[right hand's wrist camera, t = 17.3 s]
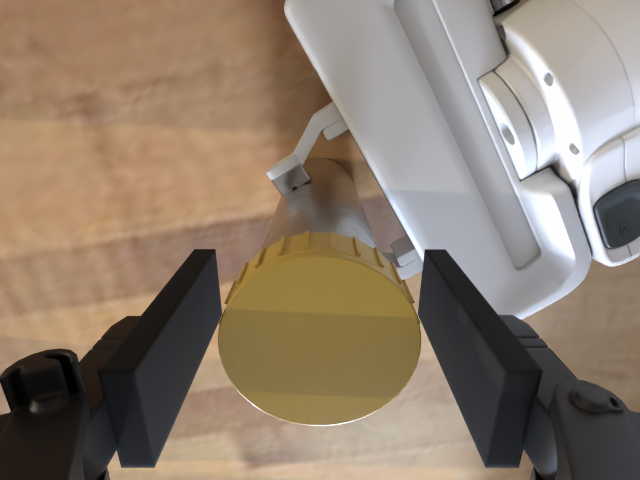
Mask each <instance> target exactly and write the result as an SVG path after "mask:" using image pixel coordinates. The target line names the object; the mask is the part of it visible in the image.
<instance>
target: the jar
mask: <svg viewBox="0 0 640 480" xmlns="http://www.w3.org/2000/svg"><path fill="white" fill-rule="evenodd" d="M305 164H306V166H307V168H308V169H309V171H310V173H311V176H310V180H309V181H307V182H306V183H304V184H302V185H300V186H293V189H292V191H290V192H289V193H287V194H285V195H283V196H281V198H280V201H279V204H278V206H277V209H276V212H275V214H274V217H273V220H272V222H271V225H270V228H269V230H268V233H267V236H266V238H265V241H264V244H263V246H262V248H263V247H264V248H265V249H266V248H267V247H269V246H270V245H272V244H274V243H276V242H278V241H280V240H281V238H282V237H284V236H285V238H288V237H291V236H295V235H300V234H305V231H309V233H315V232H316V233H330V231H333V232H334V234H340V235H344V236H348V237H351V238H353V237H354V236H355V237H357V239H358V240H359V241H361V242H364V243H365V244H367V245H369V246H371V247H372V248H375V247H377V245H376V242H375V239H374V237H373V234H372V231H371V229H370V226H369V223H368V221H367V218H366V215H365V212H364V210H363V207H362V204H361V202H360V199H359V196H358V194H357V191H356V188H355V186H354V183H353V180H352V178H351V176H350V174H349V173H348V172H347V170H346V169H345V168H344V167H342V166H341V165H340V164H338V163H336V162H334V161H332V160H329V159H322V158H318V159H311V160H308V161H305ZM377 248H378V247H377Z"/></svg>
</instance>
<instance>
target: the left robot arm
mask: <svg viewBox="0 0 640 480" xmlns="http://www.w3.org/2000/svg"><path fill="white" fill-rule="evenodd" d="M284 12H285V15H286V18H287V20H288V22H289V24H290V25H291V27H292V29H293V31H294V33H295V34H296V36H297V38H298V40H299V42H300V43H301V45H302V47H303V49H304V51H305V52H306V54H307V56H308V58H309V60H310V61H311V63H312V65H313V67H314V69H315V70H316V72H317V74H318V76H319V78H320V79H321V81H322V83H323V85H324V87H325V88H326V90H327V92H328V94H329V96H330V97H331V99H332V101H333V102H332V103H330V104H329V105H327V106H325V107H324V108H322V109H321V110H319V111H318V112H316V113H315V114H313V116H312V118H311V120H310V122H309V124H308V126H307V127H306V129H305V131H304V133H303V135H302V137H301V139H300V141H299V143H298V145H297V146H296V149H295V151H294V152H293V153H291V154H289V155H288V156H286V157H285V158H283V159H281V160H280V161H278V162H277V163H275V164H274V165H272V166H271V167H270V168H268V170H267V171H266V173H267V175H268V176H269V178H270V180H271V181H272V182H273V184H274V185H275V187H276V188H277V190H278V191H279V193H280V194H281V196H283V195H285V194H287V193H289V192H290V191H292V189H293V186H300V185H302V184H304V183H306V182H307V181H309V180H310V176H311V173H310V171H309V169H308V168H307V166H306V164H305V160H306V158H307V157H308V155H309V153H310V151H311V149H312V147H313V146H314V144H315V142H316V140H317V138H318V136H319V134H320V133H321V131H323V134H324V135H325V137H326V139H327V140H332V139H333V138H335V137H337V136H338V135H340V134H342V133H343V132H345V131H347V130H349V131H350V133H351V135H352V137H353V139H354V140H355V142H356V144H357V146H358V148H359V149H360V151H361V153H362V155H363V157H364V158H365V160H366V162H367V164H368V166H369V167H370V169H371V171H372V173H373V175H374V176H375V178H376V180H377V182H378V184H379V185H380V187H381V189H382V191H383V193H384V194H385V196H386V198H387V200H388V202H389V203H390V205H391V207H392V209H393V211H394V212H395V214H396V216H397V218H398V220H399V221H400V223H401V225H402V227H403V229H404V230H405V232H406V234H407V235H406V236H404V237H402V238H401V239H399V240H397V241H395V242H393V243H392V244H391V248H392V250H393V252H394V253H380V254H382V255H383V256H384V257H385V258H386V259H387V260H388V261H389V262H390V263H391V262H393V263H394V264H395V267H396V269H397V271H398V273H399V276H400V278H401V279H407V278H409V277H411V276H413V275H415V274H417V273H419V272H421V271H422V270H423V261H424V251H425V249H446V251H447V252H448V253H449V254H450V256H451V257H452V258H453V259H454V260H455V262H456V263H457V264H458V265H459V267H460V268H461V269H462V270H463V272H464V273H465V274H466V275H467V277H468V278H469V279H470V280H471V282H472V283H473V284H474V285H475V287H476V288H477V289H478V290H479V292H480V293H481V294H482V295H483V297H484V298H485V299H486V300H487V302H488V303H489V304H490V305H491V307H492V308H493V309H494V310H495V312H496V313H497V314H498V315H514V316H515V317H517V318H519V319H520V320H521V319H523V318H525V317H527V316H529V315H531V314H533V313H535V312H537V311H539V310H541V309H543V308H545V307H546V306H548V305H550V304H552V303H554V302H555V301H557V300H559V299H561V298H562V297H564V296H565V295H567V294H568V293H570V292H571V291H572V290H574V289H575V288H576V287H577V286H578V285H579V284H580V283H581V282H582V281H583V280H584V278H585V277H586V275H587V273H588V272H589V269H590V266H591V258H592V259H594V260H596V261H598V262H600V263H603V264H605V265H607V266H618V265H621V264H624V263H627V262H629V261H631V260H633V259H635V258H636V257H638V256H639V255H640V0H286V1H285V5H284ZM493 14H494V15H493ZM492 15H493V18H492V17H491V16H492Z"/></svg>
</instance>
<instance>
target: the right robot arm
mask: <svg viewBox="0 0 640 480" xmlns="http://www.w3.org/2000/svg"><path fill="white" fill-rule="evenodd" d="M221 316H222V309H221V299H220V290H219V280H218V270H217V261H216V251H215V249H194V251H193V252H192V253H191V254H190V256H189V257H188V258H187V259H186V260H185V262H184V263H183V264H182V265H181V267H180V268H179V269H178V270H177V272H176V273H175V274H174V275H173V277H172V278H171V279H170V280H169V282H168V283H167V284H166V285H165V287H164V288H163V289H162V290H161V292H160V293H159V294H158V295H157V297H156V298H155V299H154V300H153V302H152V303H151V304H150V305H149V307H148V308H147V309H146V310H145V312H144V313H143V314H142V315H141V316H127V317H125V318H124V319H122V320H120V321H119V322H117V323H116V324H114V325H112V326H111V327H110V328H109V329H108V331H107V332H106V333H105V334H104V335H103V336H102V337H101V340H99V341H98V342H97V343H96V344H95V345H94V346H93V349H92V350H90V351H89V352H88V353H87V354H86V355H85V356H84V357H83V359H82V360H81V361H80V362H79V361H78V358H77V354H75V353H74V352H73V351H71V350H66V349H52V350H45V351H42V352H38V353H35V354H32V355H30V356H27V357H25V358H23V359H21V360H19V361H17V362H16V363H14V364H13V365H11V366H10V367H8V368H7V369H6V370H5V371H4V372H3V373H2V375H1V376H0V383H1V386H2V388H3V391H4V394H5V396H6V399H7V402H8V405H9V407H10V410H11V412H10V413H7V414H3V415H0V480H110V478H109V472H108V469H107V466H108V464H109V462H110V460H111V459H112V457H113V455H114V453H115V452H116V450H117V452H118V456H119V460H120V464H121V468H154V467H155V465H156V463H157V460H158V458H159V456H160V454H161V451H162V449H163V447H164V445H165V442H166V440H167V438H168V436H169V433H170V431H171V429H172V427H173V424H174V422H175V420H176V417H177V415H178V413H179V411H180V408H181V406H182V404H183V402H184V399H185V397H186V395H187V393H188V390H189V388H190V386H191V384H192V381H193V379H194V377H195V374H196V372H197V370H198V368H199V365H200V363H201V361H202V359H203V356H204V354H205V352H206V350H207V347H208V345H209V343H210V341H211V338H212V336H213V334H214V331H215V329H216V327H217V325H218V322H219V320H220V318H221ZM418 316H419V318H420V320H421V322H422V325H423V327H424V329H425V331H426V334H427V336H428V338H429V341H430V343H431V345H432V347H433V350H434V352H435V354H436V356H437V359H438V361H439V363H440V365H441V368H442V370H443V372H444V374H445V377H446V379H447V381H448V384H449V386H450V388H451V390H452V393H453V395H454V397H455V399H456V402H457V404H458V406H459V408H460V411H461V413H462V415H463V417H464V420H465V422H466V424H467V427H468V429H469V431H470V433H471V436H472V438H473V440H474V442H475V445H476V447H477V449H478V451H479V454H480V456H481V458H482V460H483V463H484V465H485V467H486V468H519V464H520V460H521V456H522V452H523V448H524V450H525V451H526V453H527V455H528V457H529V458H530V460H531V462H532V464H533V469H532V472H531V476H530V480H640V413H636V412H632V411H629V410H628V408H627V407H626V405H625V404H624V403H623V401H622V400H620V399H619V398H618V397H617V396H615V395H614V394H613V393H612V392H610V391H608V390H606V389H604V388H602V387H600V386H598V385H595V384H592V383H589V382H586V381H582V380H578V379H577V378H576V377H575V376H574V375H573V373H572V372H571V371H570V370H569V369H568V368H567V367H566V366H565V365H564V363H563V362H562V361H561V360H560V359H559V358H558V357H557V356H556V355H555V353H554V352H553V351H552V350H551V349H550V348H548V346H547V345H546V343H545V342H544V341H543V340H542V339H539V336H538V335H537V333H536V332H535V331H534V330H533V329H532V328H531V327H530V326H529V325H528V324H527V323H525V322H523V321H522V320H520V319H519V318H517V317H515V316H514V315H498V314H497V313H496V312H495V310H494V309H493V308H492V307H491V305H490V304H489V303H488V302H487V300H486V299H485V298H484V297H483V295H482V294H481V293H480V292H479V290H478V289H477V288H476V287H475V285H474V284H473V283H472V282H471V280H470V279H469V278H468V277H467V275H466V274H465V273H464V272H463V270H462V269H461V268H460V267H459V265H458V264H457V263H456V262H455V260H454V259H453V258H452V257H451V256H450V254H449V253H448V252H447V251H446V249H425V251H424V261H423V270H422V280H421V290H420V299H419V309H418Z"/></svg>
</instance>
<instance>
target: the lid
mask: <svg viewBox="0 0 640 480" xmlns="http://www.w3.org/2000/svg"><path fill="white" fill-rule="evenodd" d="M413 303H414V300H413V298H412V296H411V293H410V291H409V289H408V287H407V285H406V282H405V280H401V278H400V276H399V273H398V271H397V269H396V267H395V264H394V263H393V262H391V263H390V262H389V261H388V260H387V259H386V258H385V257H384V256H383V255H382V254H380V253H379V250H378V248H377V247H375V248H372V247H371V246H369V245H367V244H365V243H364V242H361V241H359V240H358V239H357V237H355V236H354V237H353V238H351V237H348V236H344V235H340V234H334V232H333V231H330V233H316V232H315V233H309V231H305V234H300V235H295V236H291V237H288V238H285V236H284V237H282V238H281V240H280V241H278V242H276V243H274V244H272V245H270V246H269V247H267V248H266V249H265V248H264V247H263V248H261V250H260V252H259V254H258V255H257V256H256V257H254V258H253V259H252V260H251V261H250V263H247V262H246V263H245V265H244V267H243V269H242V271H241V274H240V276H239V278H238V280H237V281H236V280H235V281H234V283H233V285H232V288H231V290H230V292H229V294H228V296H227V298H226V301H225V304H227V306H226V308H225V311H224V313H223V315H222V317H221V320H220V322H219V325H220V327H219V334H218V346H219V354H220V358H221V362H222V365H223V367H224V370H225V372H226V374H227V376H228V378H229V379H230V381H231V383H232V384H233V385H234V387H235V388H236V389H237V390H238V392H239V393H240V394H241V395H242V396H243V397H244V398H245V399H246V400H247V401H249V402H250V403H251V404H253V405H254V406H255V407H257V408H258V409H260V410H262V411H264V412H265V413H267V414H269V415H272V416H274V417H276V418H279V419H282V420H285V421H288V422H292V423H297V424H302V425H311V426H327V425H337V424H343V423H348V422H351V421H355V420H358V419H361V418H363V417H366V416H368V415H370V414H372V413H374V412H376V411H378V410H379V409H381V408H382V407H384V406H385V405H387V404H388V403H389V402H391V401H392V400H393V399H394V398H395V397H396V396H397V395H398V394H399V393H400V392H401V391H402V390H403V388H404V387H405V386H406V385H407V383H408V381H409V380H410V378H411V377H412V375H413V373H414V370H415V368H416V366H417V363H418V359H419V356H420V349H421V331H420V326H419V324H420V321H419V318H418V316H417V314H416V312H415V309H414V307H413V305H412V304H413Z"/></svg>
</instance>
